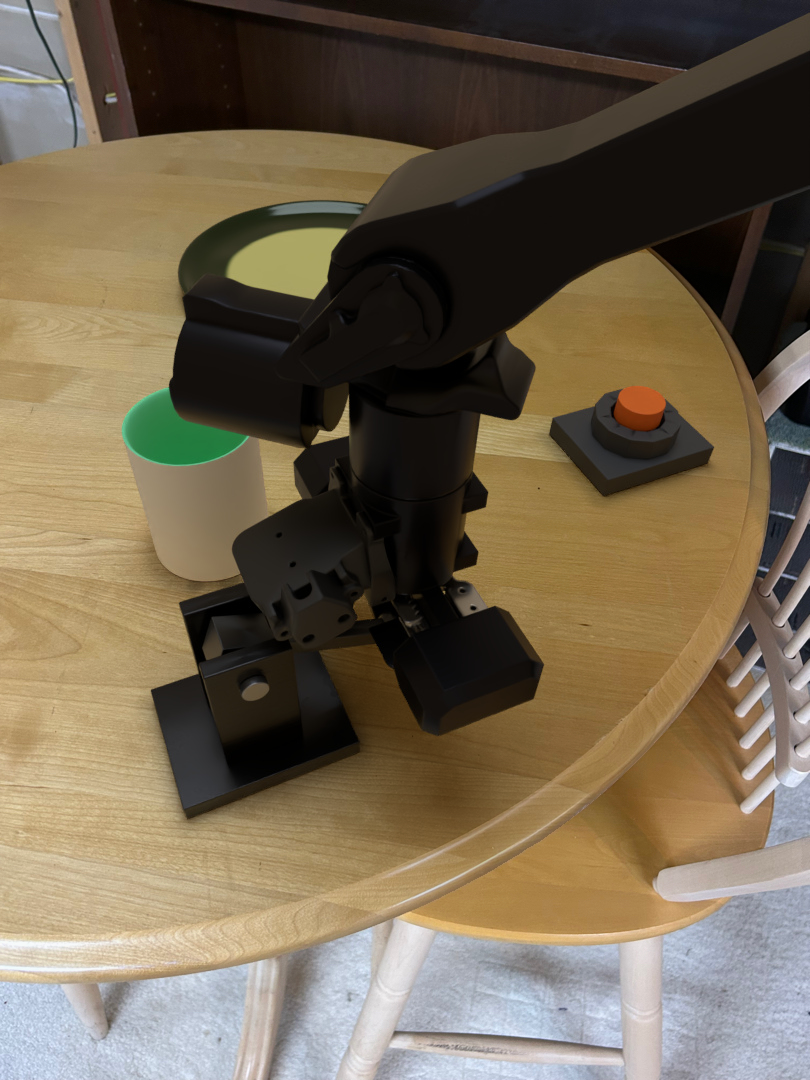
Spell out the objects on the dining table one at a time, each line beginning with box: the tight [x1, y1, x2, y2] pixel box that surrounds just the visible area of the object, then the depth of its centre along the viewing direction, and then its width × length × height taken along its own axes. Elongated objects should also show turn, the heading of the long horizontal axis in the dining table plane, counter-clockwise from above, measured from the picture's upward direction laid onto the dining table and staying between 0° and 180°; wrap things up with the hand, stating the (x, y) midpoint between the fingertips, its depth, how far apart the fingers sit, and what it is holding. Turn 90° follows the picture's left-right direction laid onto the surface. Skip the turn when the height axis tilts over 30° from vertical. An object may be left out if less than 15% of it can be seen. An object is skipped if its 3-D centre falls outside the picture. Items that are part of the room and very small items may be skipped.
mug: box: [121, 386, 270, 582], centre depth 54 cm, size 12×8×10 cm
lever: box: [202, 604, 399, 660], centre depth 44 cm, size 13×3×3 cm, turn 114°
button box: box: [549, 388, 715, 497], centre depth 64 cm, size 8×10×4 cm
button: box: [614, 385, 666, 432], centre depth 62 cm, size 4×4×2 cm
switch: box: [150, 581, 361, 820], centre depth 43 cm, size 10×8×10 cm
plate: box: [177, 199, 368, 299], centre depth 80 cm, size 28×28×2 cm
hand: (398, 654), depth 48 cm, fingers closed on lever, 3 cm apart
